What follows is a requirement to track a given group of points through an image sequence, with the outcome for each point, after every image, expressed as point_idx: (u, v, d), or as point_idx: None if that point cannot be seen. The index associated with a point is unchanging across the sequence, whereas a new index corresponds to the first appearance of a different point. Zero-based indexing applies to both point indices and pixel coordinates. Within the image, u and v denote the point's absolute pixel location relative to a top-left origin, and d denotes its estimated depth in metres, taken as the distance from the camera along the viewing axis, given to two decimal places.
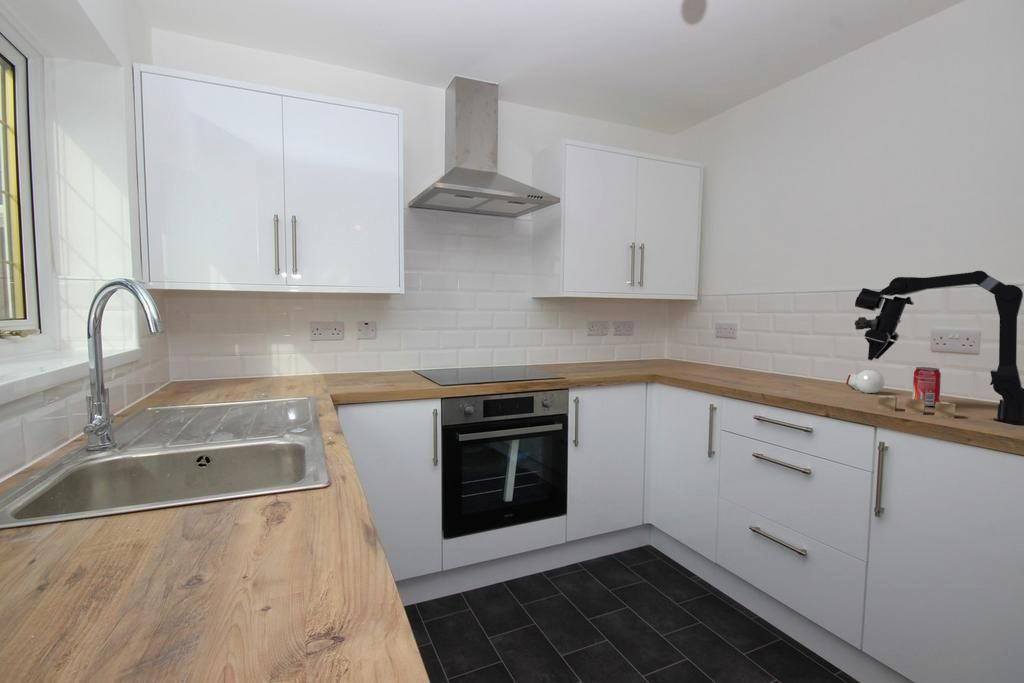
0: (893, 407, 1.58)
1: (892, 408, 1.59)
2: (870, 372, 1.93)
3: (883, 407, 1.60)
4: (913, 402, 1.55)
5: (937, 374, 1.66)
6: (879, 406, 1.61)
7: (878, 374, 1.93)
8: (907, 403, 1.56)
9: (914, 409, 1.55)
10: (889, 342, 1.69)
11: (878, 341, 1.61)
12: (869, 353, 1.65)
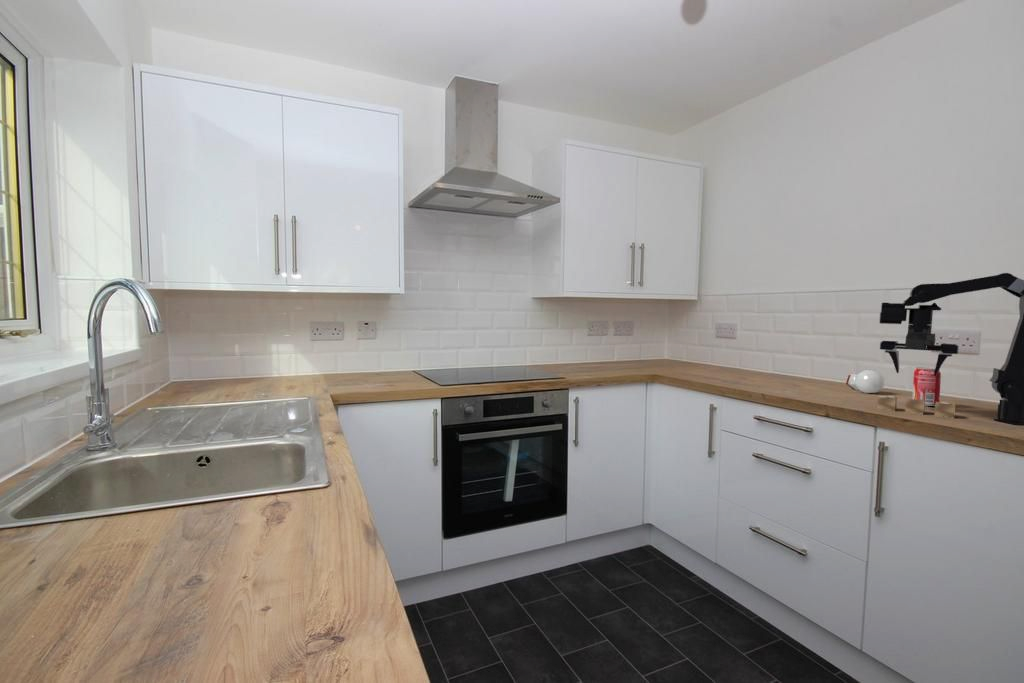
0: (893, 407, 1.58)
1: (892, 408, 1.59)
2: (870, 372, 1.94)
3: (883, 408, 1.60)
4: (913, 402, 1.55)
5: (937, 374, 1.66)
6: (879, 406, 1.61)
7: (878, 374, 1.93)
8: (907, 403, 1.56)
9: (914, 409, 1.55)
10: (898, 352, 1.61)
11: (951, 354, 1.51)
12: (938, 369, 1.52)
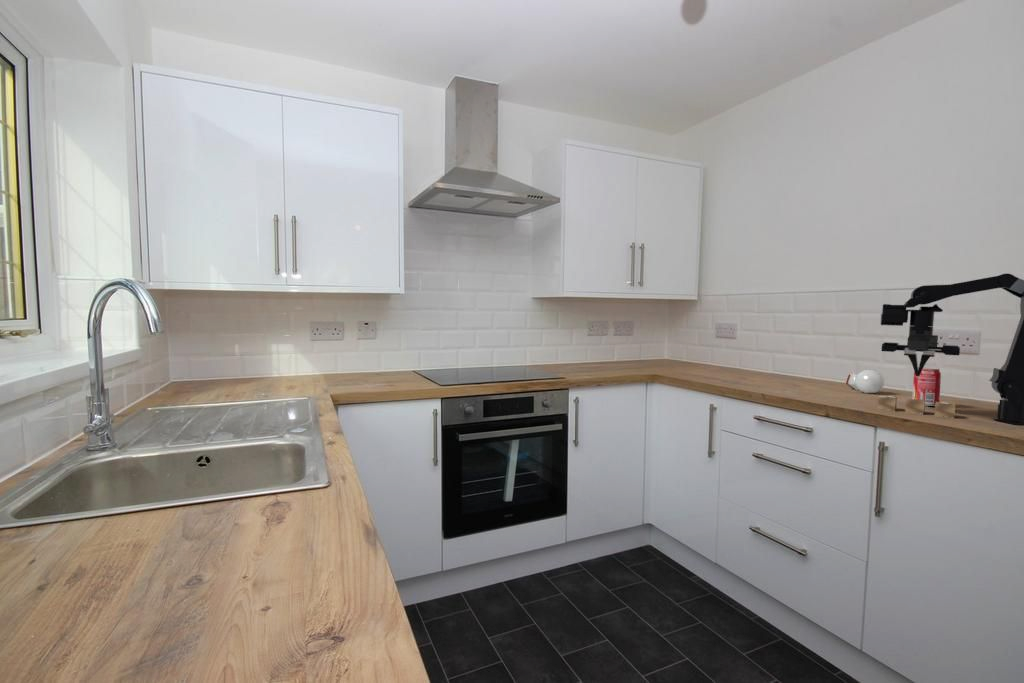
0: (893, 407, 1.58)
1: (892, 408, 1.59)
2: (870, 372, 1.94)
3: (883, 408, 1.60)
4: (913, 402, 1.55)
5: (937, 374, 1.66)
6: (879, 406, 1.61)
7: (878, 374, 1.93)
8: (907, 403, 1.56)
9: (914, 409, 1.55)
10: (916, 355, 1.57)
11: (934, 355, 1.54)
12: (922, 369, 1.55)
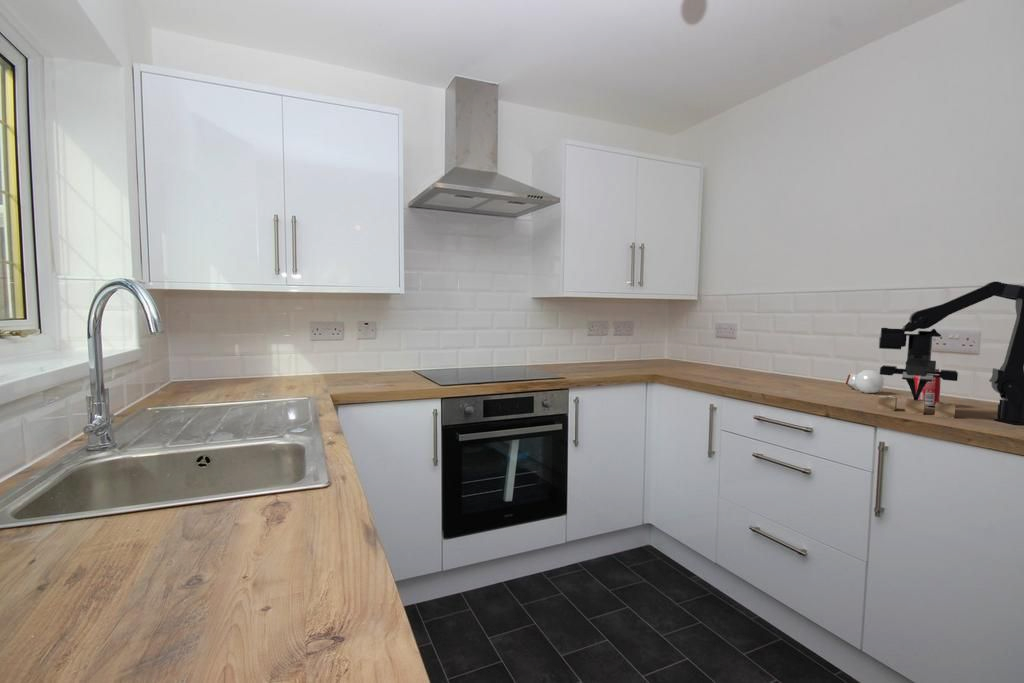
0: (893, 407, 1.58)
1: (892, 408, 1.59)
2: (870, 372, 1.94)
3: (883, 407, 1.60)
4: (913, 402, 1.55)
5: None
6: (879, 406, 1.61)
7: (878, 374, 1.93)
8: (907, 403, 1.56)
9: (914, 409, 1.55)
10: (914, 379, 1.58)
11: (932, 379, 1.54)
12: None
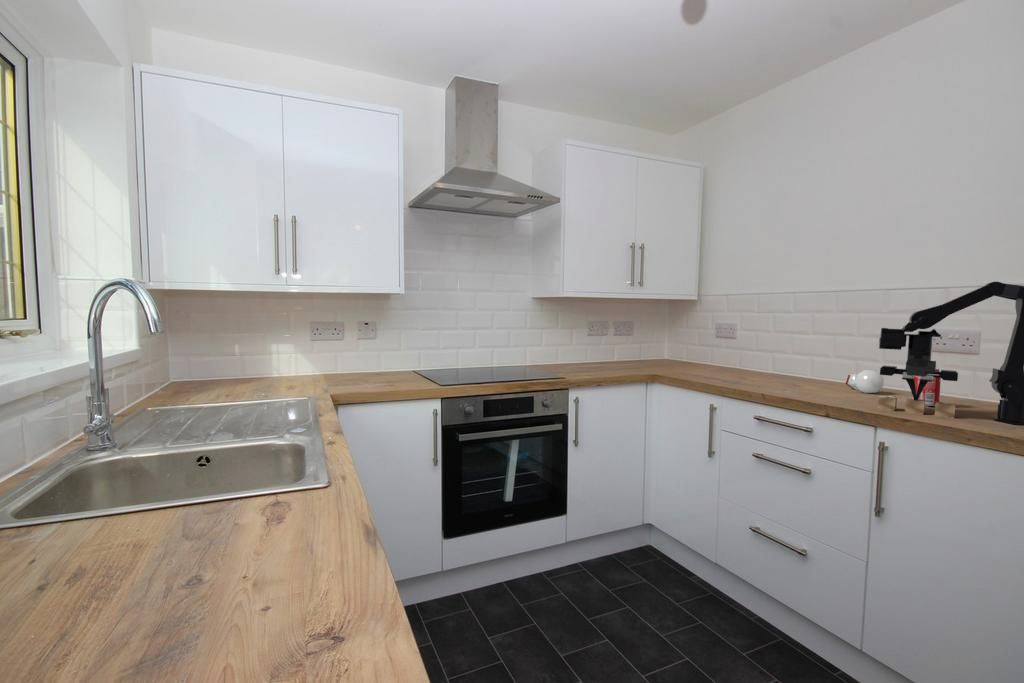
0: (893, 407, 1.58)
1: (892, 408, 1.59)
2: (870, 372, 1.94)
3: (883, 407, 1.60)
4: (913, 402, 1.55)
5: None
6: (879, 406, 1.61)
7: (878, 374, 1.93)
8: (907, 403, 1.56)
9: (914, 409, 1.55)
10: (914, 379, 1.58)
11: (932, 379, 1.54)
12: None
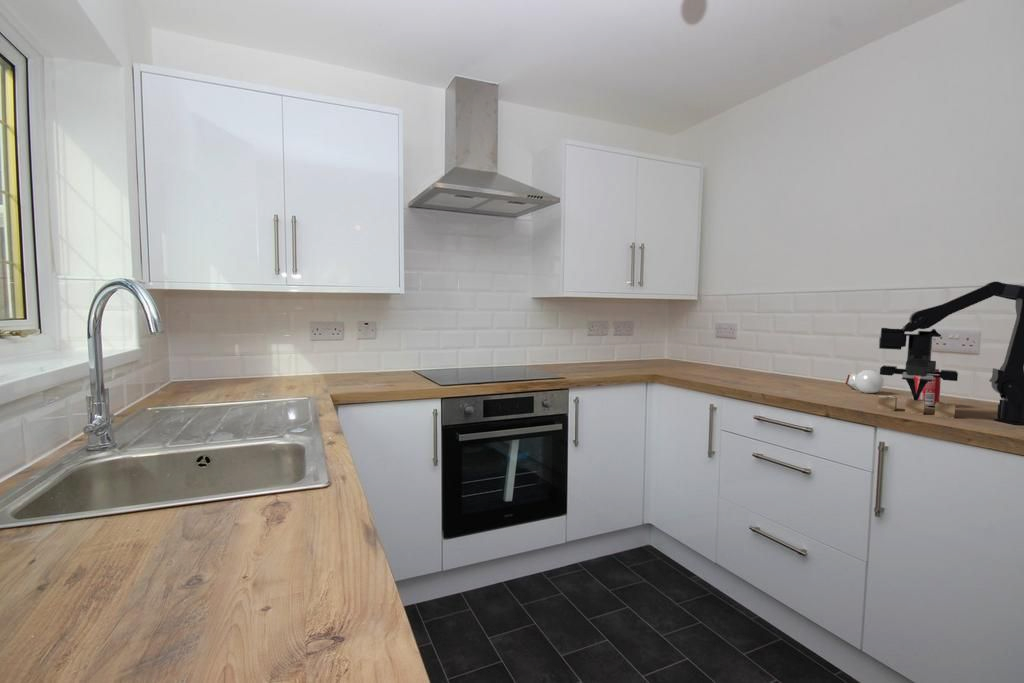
0: (893, 407, 1.58)
1: (892, 408, 1.59)
2: (869, 372, 1.94)
3: (883, 407, 1.60)
4: (913, 402, 1.55)
5: None
6: (879, 406, 1.61)
7: (878, 374, 1.93)
8: (907, 403, 1.56)
9: (914, 409, 1.55)
10: (914, 379, 1.58)
11: (932, 379, 1.54)
12: None
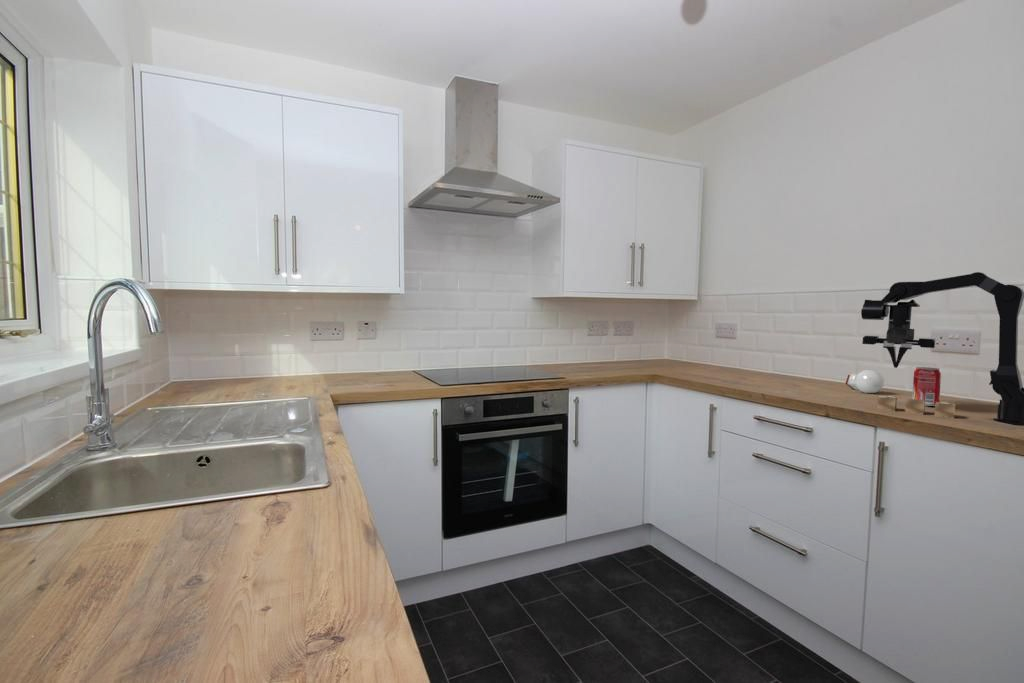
0: (893, 407, 1.58)
1: (892, 408, 1.59)
2: (869, 372, 1.94)
3: (883, 407, 1.60)
4: (913, 402, 1.55)
5: (937, 374, 1.66)
6: (879, 406, 1.61)
7: (877, 374, 1.93)
8: (907, 403, 1.56)
9: (914, 409, 1.55)
10: None
11: (911, 347, 1.63)
12: (899, 361, 1.64)
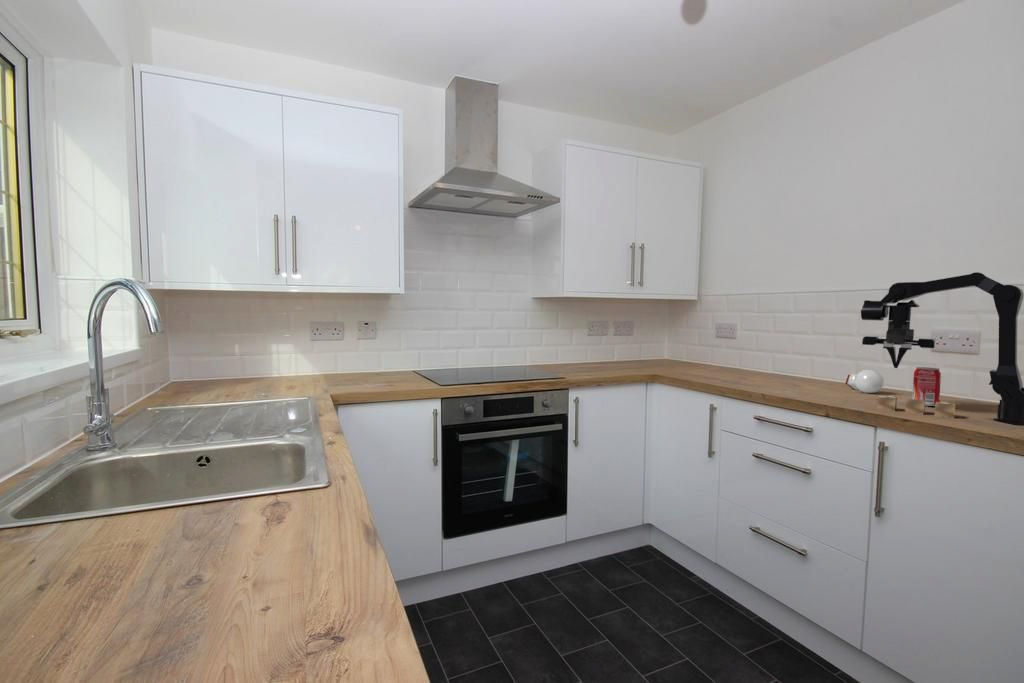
0: (893, 407, 1.58)
1: (892, 408, 1.59)
2: (869, 372, 1.94)
3: (883, 407, 1.60)
4: (913, 402, 1.55)
5: (937, 374, 1.66)
6: (879, 406, 1.61)
7: (877, 374, 1.93)
8: (907, 403, 1.56)
9: (914, 409, 1.55)
10: None
11: (911, 348, 1.63)
12: (899, 362, 1.64)
